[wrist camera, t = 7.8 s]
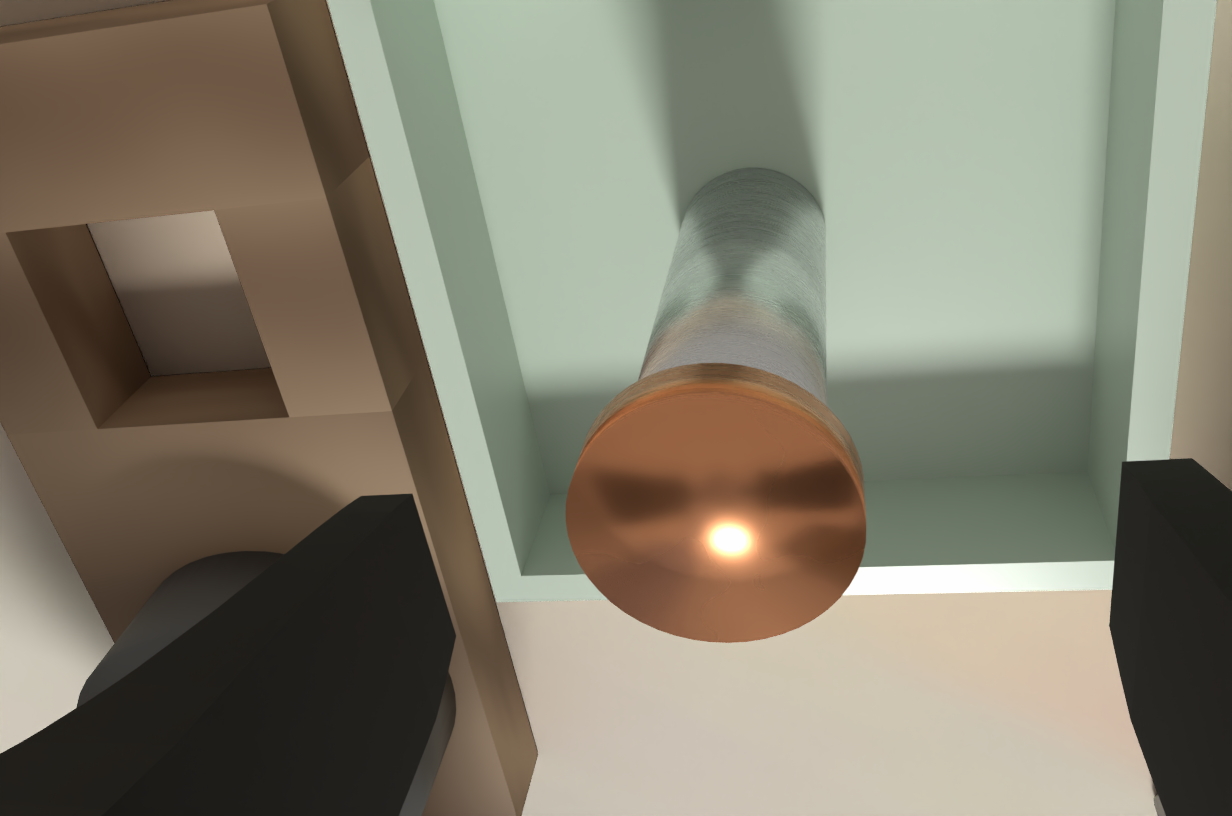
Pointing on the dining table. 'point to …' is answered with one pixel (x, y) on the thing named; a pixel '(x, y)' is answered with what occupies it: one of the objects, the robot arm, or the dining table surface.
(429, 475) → the tensioner board
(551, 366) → the tray
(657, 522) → the lock pin
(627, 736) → the dining table surface
